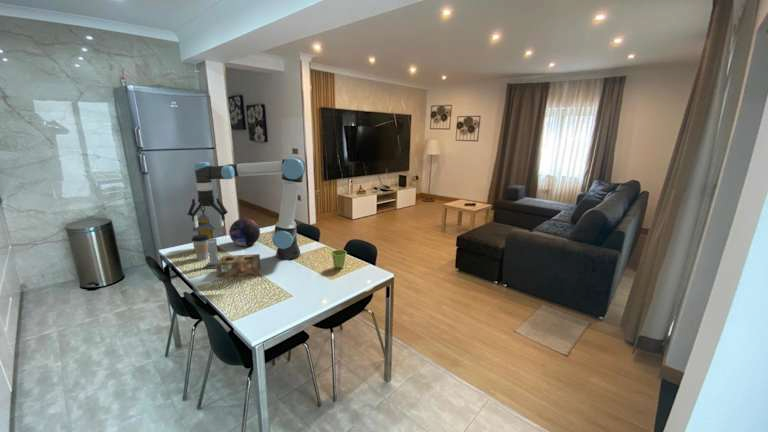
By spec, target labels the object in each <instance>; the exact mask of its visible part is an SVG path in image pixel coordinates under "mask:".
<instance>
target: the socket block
mask: <svg viewBox="0 0 768 432" xmlns="http://www.w3.org/2000/svg"><path fill="white" fill-rule="evenodd" d="M261 267H262V266H261V254H260V253H258V254H239V255H238V254H236V255H235V254H234V255H222V256H221V258H220V259H218V262H217V263H216V269H215V270H216V277H217V278H228V277H229V278H231V277H232V278H233V277H246V276H247V277H248V276H257V275H258V273H259V271H260V269H261Z"/></svg>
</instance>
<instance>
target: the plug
mask: <svg viewBox="0 0 768 432" xmlns="http://www.w3.org/2000/svg"><path fill="white" fill-rule="evenodd" d="M207 242H208V247H209V252H208V257H209V262H210V265H211V266H216V263H217V262H218V261H219V254H218V252H219V251H217V243H218V242H217V238H214V237H213V239H209V240H208V241H207Z"/></svg>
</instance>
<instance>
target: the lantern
mask: <svg viewBox="0 0 768 432" xmlns="http://www.w3.org/2000/svg"><path fill="white" fill-rule="evenodd" d="M200 211H201V213H202V214H201V215H200V216H199V217H197V220H198V227H197V228H195V225H194V226H193V228H192V232H197V233H198V234H197V235H201V234H206V235H208V237H209V239H213V238H214V236H213V235H214V234H213V232H214V231H213V230H217V225H216V224H215V223H214V222H212V221H210V220H211V217H210V216H208V215H207V214H206V213H205V212H206V206H205V207H204V206H202V207H201V208H200ZM209 239H208V240H209ZM219 251H220V247H219V245H217V252H219ZM208 253H209V247H208ZM194 254H195V255H196V253H195V252H194Z"/></svg>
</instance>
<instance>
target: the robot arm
mask: <svg viewBox="0 0 768 432" xmlns="http://www.w3.org/2000/svg"><path fill="white" fill-rule="evenodd" d="M193 169H194V170H193V171H194V176H195V180H196V181H195V183H196V190H197V196H198V198H195V197H194V198H192V200H191V205H190V207H189V210H188V212H187V216H191V220H192V222H194V223H193V224H194V226H195V228H197V227H198V223H199V220H198V215H197V213H199V211H200V210H201V207H205V208H206V207H212V208H213V209H214V210H215V211H216V212H217V213H218V214H219V221H220V227H224V226H225V225H224V224H225V223H224V221H225V220H226V217H225V215H227V214H228V213H229V212H228V210H227V209H226V207H225V206H224V204H223V203H222V201H221V198H220V197H217V198H215V197H214V190H213V181H212V180H225V181H226V180H233V179H234V178H237V177H248V176H249V177H250V176H262V175H264V176H265V175H278V174H280V175H281V181H282V182H283V187H282V196H281V201H280V208H279V214H278V215H279V216H278V221H277V222H276V223H275V224H274V225H275V226H274V232H273V235H272V237H271V238H272V240H271V241H272V243H273V245H274V246H275V247H276V248H277V250H276V252H275V254H276V255H275V256H276V258H278V259H280V260H289V259H296V258H298V257H300V256H301V250H300V247H299V245H298V236H297V235H298V234H297V233H298V232H297V222H296V221H295V217H296V216H295V215H296V208H297V203H298V202H297V201H298V195H299V187H300V185H301V184H302V183H303V179H304V173H305V172H306V164H305V161H304V160H303V159H301V158H300V157H297V156H292V157H288V158H284V159H281V160H278V161H263V162H261V161H260V162H247V163H229V164H224V165H211V164H210V162H209V161H200V162H199V161H198V162H197V161H196V162H195V163H194V167H193ZM197 202H198V203H199V204H198V206H197V207H196V204H197ZM216 203H217V204H218V206H217V204H216ZM195 207H196V208H195Z"/></svg>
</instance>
